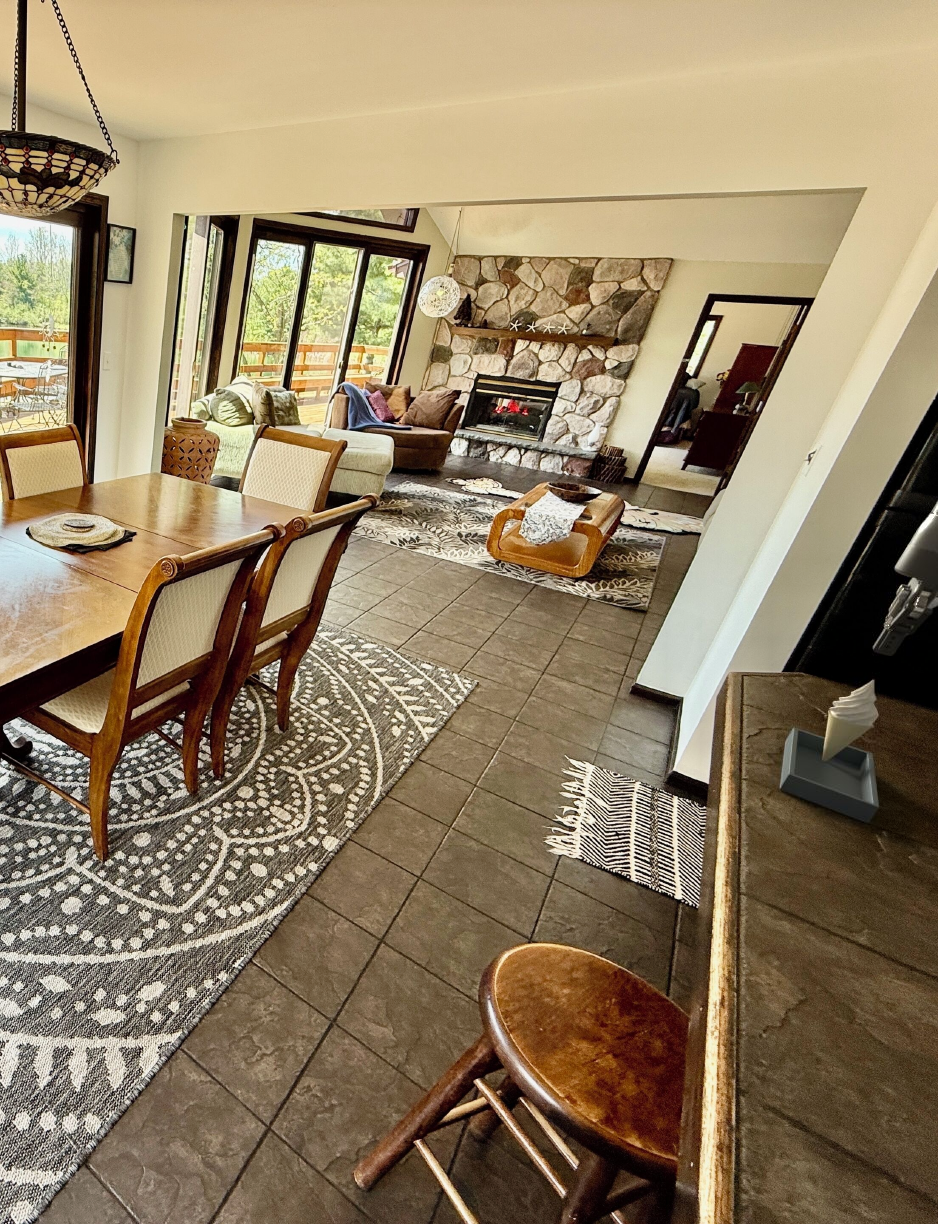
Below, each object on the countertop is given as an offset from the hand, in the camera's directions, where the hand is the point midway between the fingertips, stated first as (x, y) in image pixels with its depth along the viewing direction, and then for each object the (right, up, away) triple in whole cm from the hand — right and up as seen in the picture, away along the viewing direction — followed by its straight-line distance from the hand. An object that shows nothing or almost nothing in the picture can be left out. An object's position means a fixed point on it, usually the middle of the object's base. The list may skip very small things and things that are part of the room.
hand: (881, 652), depth 100 cm
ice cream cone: (-6, -18, +3) cm, 19 cm away
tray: (-11, -20, -2) cm, 23 cm away
